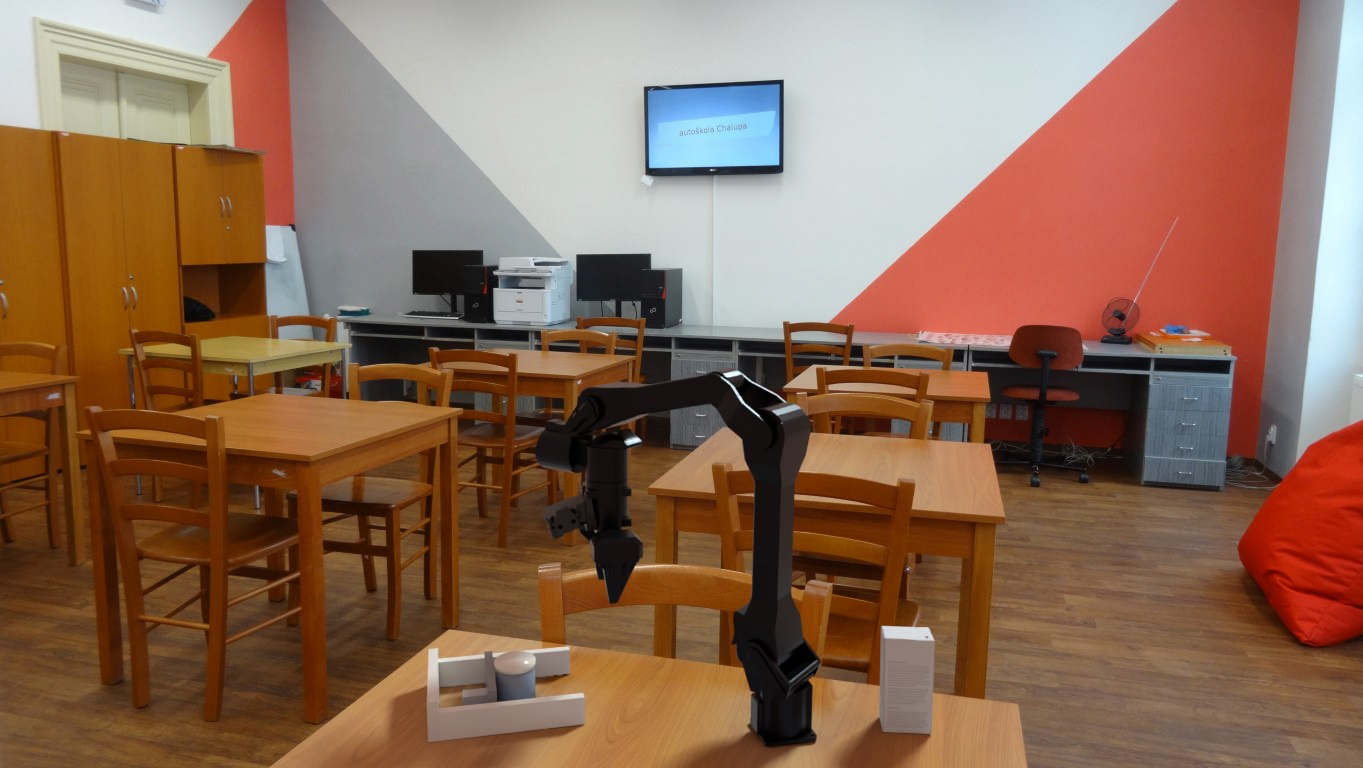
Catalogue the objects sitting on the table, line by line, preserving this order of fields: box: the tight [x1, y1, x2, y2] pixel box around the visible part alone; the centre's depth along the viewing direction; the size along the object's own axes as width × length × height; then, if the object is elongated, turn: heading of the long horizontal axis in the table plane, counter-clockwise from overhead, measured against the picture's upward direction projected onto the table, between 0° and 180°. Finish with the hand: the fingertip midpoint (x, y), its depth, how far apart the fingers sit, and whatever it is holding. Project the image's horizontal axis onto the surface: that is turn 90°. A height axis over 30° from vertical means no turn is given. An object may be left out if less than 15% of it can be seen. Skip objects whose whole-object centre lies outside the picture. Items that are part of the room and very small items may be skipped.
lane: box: [426, 645, 586, 743], centre depth 122 cm, size 19×15×5 cm
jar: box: [494, 650, 537, 702], centre depth 122 cm, size 5×5×6 cm
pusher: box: [461, 650, 497, 706], centre depth 121 cm, size 4×12×4 cm, turn 14°
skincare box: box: [878, 625, 936, 735], centre depth 116 cm, size 6×4×12 cm
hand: (607, 590), depth 129 cm, fingers open, 9 cm apart
